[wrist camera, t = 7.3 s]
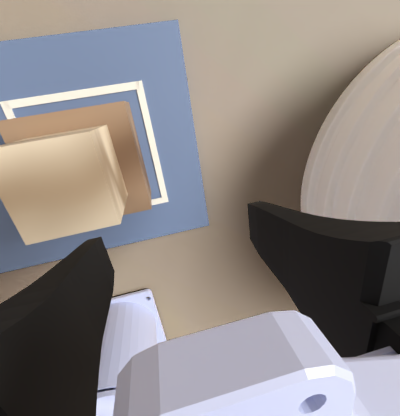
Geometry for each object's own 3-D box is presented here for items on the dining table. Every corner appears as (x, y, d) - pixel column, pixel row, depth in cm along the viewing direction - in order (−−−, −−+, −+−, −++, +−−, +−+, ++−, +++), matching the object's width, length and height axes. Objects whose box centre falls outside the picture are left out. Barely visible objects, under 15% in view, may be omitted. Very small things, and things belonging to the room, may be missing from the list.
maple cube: (127, 194, 16) (120, 224, 12) (58, 209, 15) (26, 245, 11) (106, 124, 14) (89, 131, 10) (26, 138, 14) (-25, 151, 10)
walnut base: (151, 190, 20) (151, 209, 17) (66, 208, 20) (47, 231, 16) (128, 102, 17) (123, 100, 14) (28, 118, 17) (-6, 121, 13)
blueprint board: (207, 221, 23) (209, 225, 23) (-114, 294, 20) (-125, 302, 19) (176, 23, 17) (178, 19, 16) (-307, 83, 14) (-336, 81, 13)
